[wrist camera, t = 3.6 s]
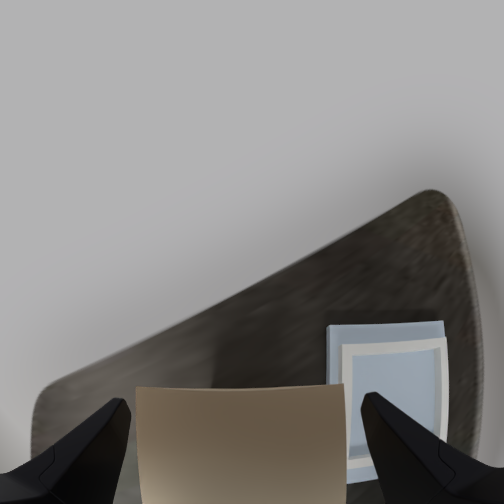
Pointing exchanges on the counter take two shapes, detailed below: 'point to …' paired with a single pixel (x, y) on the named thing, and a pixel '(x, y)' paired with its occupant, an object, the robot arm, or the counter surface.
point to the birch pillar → (242, 445)
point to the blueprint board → (389, 379)
